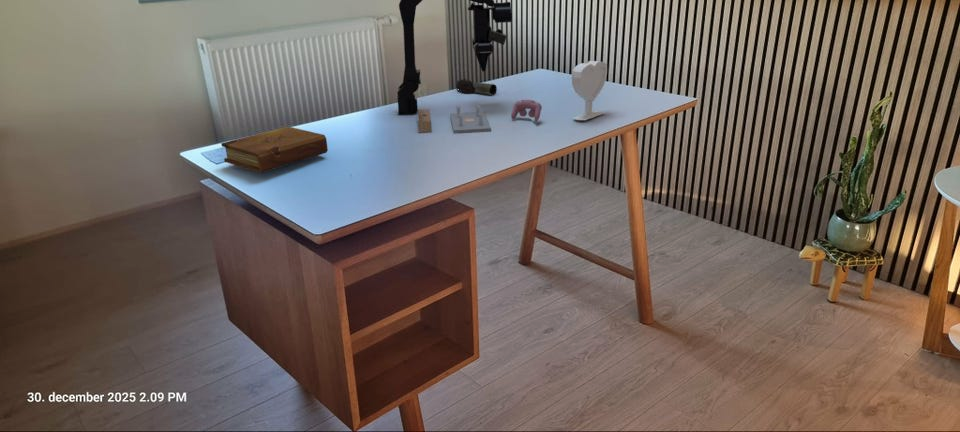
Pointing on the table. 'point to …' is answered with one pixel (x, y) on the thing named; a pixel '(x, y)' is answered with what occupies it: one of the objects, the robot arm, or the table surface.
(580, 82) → the heart sculpture
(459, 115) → the set of grey blocks
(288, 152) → the diary
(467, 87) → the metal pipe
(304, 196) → the table surface
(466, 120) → the plate
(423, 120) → the tan wooden bar
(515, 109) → the video game controller
